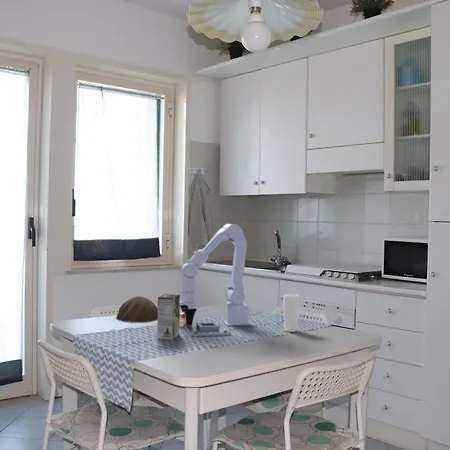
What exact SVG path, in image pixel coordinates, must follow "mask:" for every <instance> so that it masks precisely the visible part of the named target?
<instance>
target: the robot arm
mask: <svg viewBox="0 0 450 450" xmlns="http://www.w3.org/2000/svg"><path fill="white" fill-rule="evenodd" d="M225 241H230V243H232V245H233V246H234V250H233V252H234V253H233V259H232V268H231V276H230V282H229V283H228V287H227V290H226V291H225V299H227V302H226V320H225V321H224V320H223V323H224V324H225V325H226V326H229V327H230V326H231V327H232V326H249V325H250V323H249V314H250V313H249V310H250V309H249V306H248V304H247V303H244V301H245V300H246V299H245V298H246V296H245V291H244V290H245V288H244V284H243V282H244V281H243V280H244V272H245V263H246V255H247V248H248V242H247V239H246V237H245V234H244V231H243V229H242V228H241V227H240V226H239V225H238V224H235V223H233V224H232V223H225V224H224V225H223V226H222V228H219V229H218V231H216V233H215V234H214V235H213V236H212V238H211V239H210V240H209V242H207V244H206V245H205V246H204V247H203V248H202V249H198V250H195V251H194V252H193V255H192V256H191V257H190V259H187V260H186V263H184V264H182V266H181V268H180V272H181V276H182V277H181V300H180V310H181V313H183V312H185V316H186V323H187V325H192V326H193V322H194V318H195V314H196V313H197V308H195V307H194V306H195V305H196V275H197V274H198V270H199V269H201V267H202V266H203V265H204V264H205V263H206V262H207V261H208V259H209V254H211V253H212V252H213V250H215V248H216V247H218V245H219V244H220V243H222V242H225Z"/></svg>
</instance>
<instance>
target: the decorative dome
mask: <svg viewBox="0 0 450 450" xmlns="http://www.w3.org/2000/svg"><path fill="white" fill-rule="evenodd" d="M115 319H116V320H117V319H118V320H120V321H123V322H132V323H137V322H143V323H145V322H146V323H147V322H150V321H156V320H157V321H158V306H157V305H156V304H155V303H154V302H153V301H151V299H148V298H146V297H144V296H134V297H131V298H129V299H128V300H126V301H124V302H123V303H122V304H121V306H120V307H119V309H118V312H117V315H116V317H115Z"/></svg>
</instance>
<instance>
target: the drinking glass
mask: <svg viewBox="0 0 450 450" xmlns="http://www.w3.org/2000/svg"><path fill="white" fill-rule="evenodd" d="M300 299H301V298H300V295H299V294H297V293H296V294H293V293H287V294H283V299H282V301H283V302H282V304H283V305H282V307H283V322H284V331H285V332H289V333H293V332H297V331H298V321H299V312H300V302H301V301H300Z"/></svg>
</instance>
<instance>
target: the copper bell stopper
mask: <svg viewBox="0 0 450 450" xmlns="http://www.w3.org/2000/svg"><path fill="white" fill-rule="evenodd" d="M179 320H182V325H183V327H184V328H185V326H189V325H187V323H186V316H185V312H183V313H182V312H180V316H179Z"/></svg>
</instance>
